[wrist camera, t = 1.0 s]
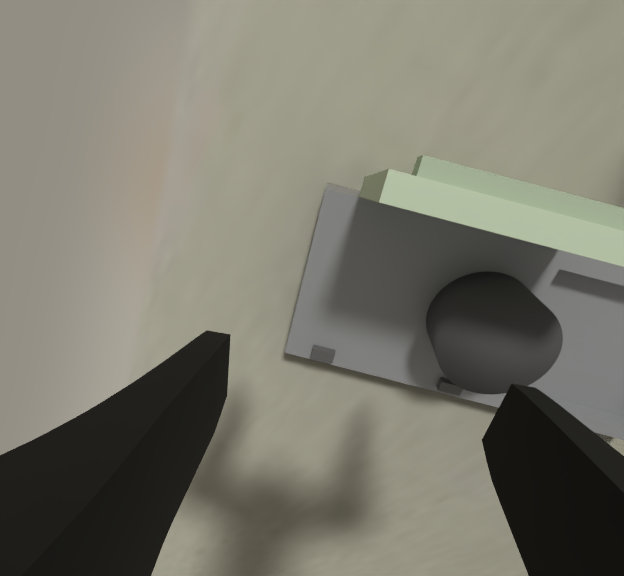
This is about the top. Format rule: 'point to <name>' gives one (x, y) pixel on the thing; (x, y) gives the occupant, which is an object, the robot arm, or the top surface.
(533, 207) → the cover
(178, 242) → the top surface
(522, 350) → the dark grey pebble
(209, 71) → the top surface
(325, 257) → the grey ball tray
